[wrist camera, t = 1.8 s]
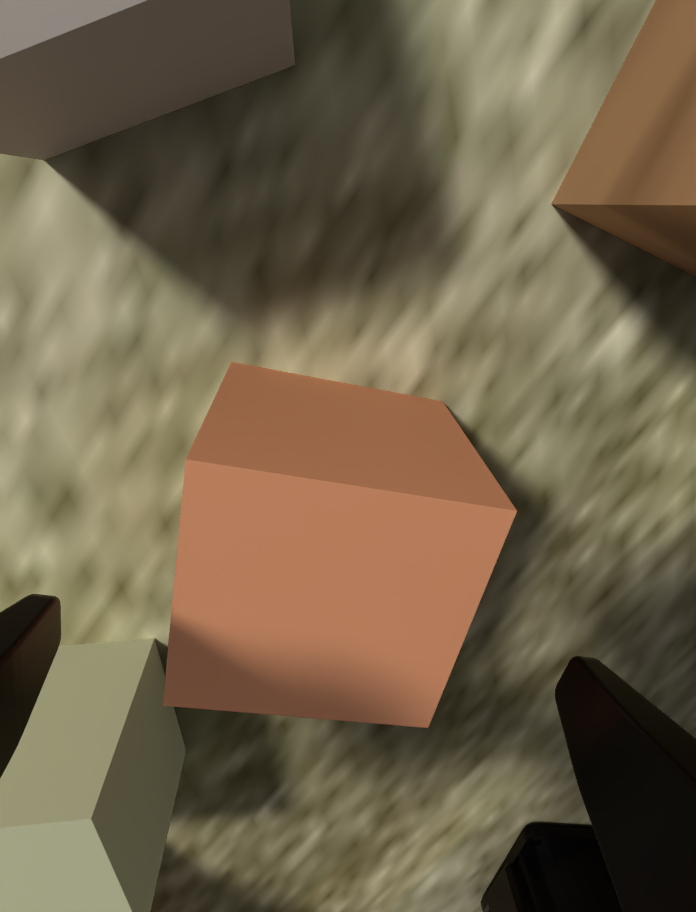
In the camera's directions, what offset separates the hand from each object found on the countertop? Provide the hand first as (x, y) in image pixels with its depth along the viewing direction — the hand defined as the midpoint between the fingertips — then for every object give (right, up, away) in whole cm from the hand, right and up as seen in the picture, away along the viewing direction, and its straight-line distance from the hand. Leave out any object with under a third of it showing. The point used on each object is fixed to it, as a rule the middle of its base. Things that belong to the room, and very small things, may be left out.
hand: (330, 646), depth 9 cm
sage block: (-8, -5, +9) cm, 13 cm away
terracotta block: (0, +3, +5) cm, 6 cm away
